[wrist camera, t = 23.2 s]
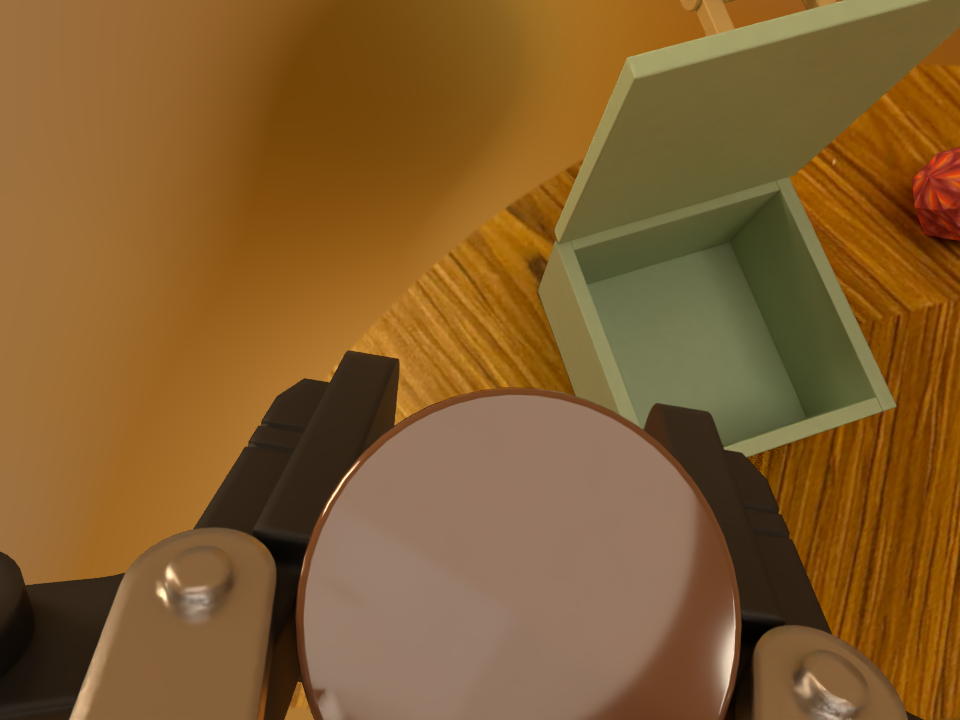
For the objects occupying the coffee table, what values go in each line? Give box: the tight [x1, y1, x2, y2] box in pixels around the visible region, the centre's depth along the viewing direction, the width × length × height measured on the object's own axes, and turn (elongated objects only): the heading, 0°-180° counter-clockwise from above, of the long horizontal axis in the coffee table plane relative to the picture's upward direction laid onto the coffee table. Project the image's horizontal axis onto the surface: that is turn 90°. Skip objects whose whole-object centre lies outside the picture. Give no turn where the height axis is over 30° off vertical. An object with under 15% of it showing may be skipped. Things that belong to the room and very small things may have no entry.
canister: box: [295, 387, 741, 720], centre depth 10 cm, size 4×4×10 cm
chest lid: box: [554, 0, 960, 243], centre depth 29 cm, size 14×14×5 cm
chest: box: [538, 177, 897, 458], centre depth 38 cm, size 14×14×8 cm
